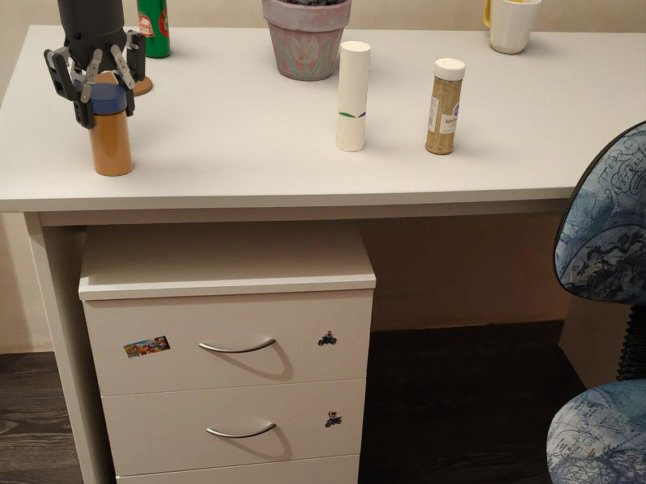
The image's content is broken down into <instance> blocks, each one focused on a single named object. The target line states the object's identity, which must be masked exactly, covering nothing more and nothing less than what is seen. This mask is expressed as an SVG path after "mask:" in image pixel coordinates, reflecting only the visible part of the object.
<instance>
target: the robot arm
mask: <svg viewBox="0 0 646 484" xmlns="http://www.w3.org/2000/svg"><path fill="white" fill-rule="evenodd" d="M56 1H57V8H58V12H59V13H58V14H59V18H60V19H59V20H60V24H61V26H62V29H63V32H64V41H63V46H61V47H59V48H57V49H55V50H52V49H50V48H46V49H45V50H43V57H44V58H43V59H44V61H45V64H46V66H47V70H48V72H49V73H48V74H49V75H50V78H51V81H52V83H53V87H54V89H55V93H56V95H58V96H59V97H62V98H63V99H66V100H67V101H69V102H72V105H73V111H74V115H75V120H76V122H77V124H79V125H80V126H81V127H82V128H85V129H86V130H90V129H93V128H94V120H93V114H92V107H91V102H90V101H88V100H89V97H90V92H91V87H92V86H93V85H94V84H95V81H96V76H97V75H98V74H101V73H105V72H111V73H112V75H113V77H114V78H115V80H116V82H117V83H118V85H120V86H122V87H123V88H124V89H125V90H126V98H127V107H126V114H127V118H130V117H133V116H134V111H135V110H136V104H135V102H136V101H135V96H134V93H133V88H134V86H135V84H136V83H137V82H138V81H143V80H144V79H145V76H146V60H147V59H146V57H147V56H146V37H145V35H143V34H141V33H140V31H137V30H134V29H128V30H127V31H125V29H124V26H125V24H126V21H125V13H124V6H123V0H56ZM125 48H126V53H125V54H126V56H125V58H126V60H125V58H124V56H123V53H124V51H125ZM69 59H71V60H72V62H71V67H70V62H69ZM69 67H70V72H69ZM83 72H85V74H84V73H83Z"/></svg>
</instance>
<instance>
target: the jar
mask: <svg viewBox="0 0 646 484" xmlns="http://www.w3.org/2000/svg"><path fill="white" fill-rule="evenodd" d="M92 114H93V120H94V128H93V129H90V130H88V129H87V130H88V131H87V132H88V137H89V143H90V149H91V156H92V162H93V163H92V164H93V169H94V171H95V172H96V173H97V174H99V175H101V176H102V175H103V176H106V177H119V176H124V175H128V174H129V173H131V172H132V171H133V169H134V161H133V154H132V145H131V139H130V131H129V123H128V117H127V114H126V108H125V109H124V110H122V111H119V112H116V113H109V114H99V113H92Z"/></svg>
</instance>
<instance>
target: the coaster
mask: <svg viewBox="0 0 646 484" xmlns="http://www.w3.org/2000/svg"><path fill="white" fill-rule="evenodd" d="M95 83H113V84H117V85H118V83H117V82H116V80H115V78H114V77H113V75H112V73H111V72H110V71H104V72H102V73H101V74H98V75H97V76H96V81H95ZM152 88H153V81H152V79H151V78H150V77H148V76H147V75H145V79H144V80H143V81H138V82H137V83H136V84H135V86H134V88H133V93H134V97H137V96H138V97H139V96H142V95H144V94H146V93H148V92H150V91H151V90H152Z"/></svg>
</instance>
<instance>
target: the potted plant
mask: <svg viewBox="0 0 646 484" xmlns="http://www.w3.org/2000/svg"><path fill="white" fill-rule="evenodd" d="M352 3H353V0H261V5H262V16H263V19H264V20H265V21H266V22H267V26H268V30H269V35H270V39H271V44H272V50H273V53H274V57H275V62H276V67H277V71H278V73H280V75H282V76H284V77H286V78H288V79H292V80H296V81H303V82H317V81H322V80H326V79H327V78H329V77H330V76H331V75H333V71H334V68H335V63H336V60H337V56H338V53H339V48H340V46H341V42H342V38H343V34H344V30H345V28H346V26H348V25H349V24H350V19H351V18H350V17H351V11H352Z"/></svg>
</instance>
